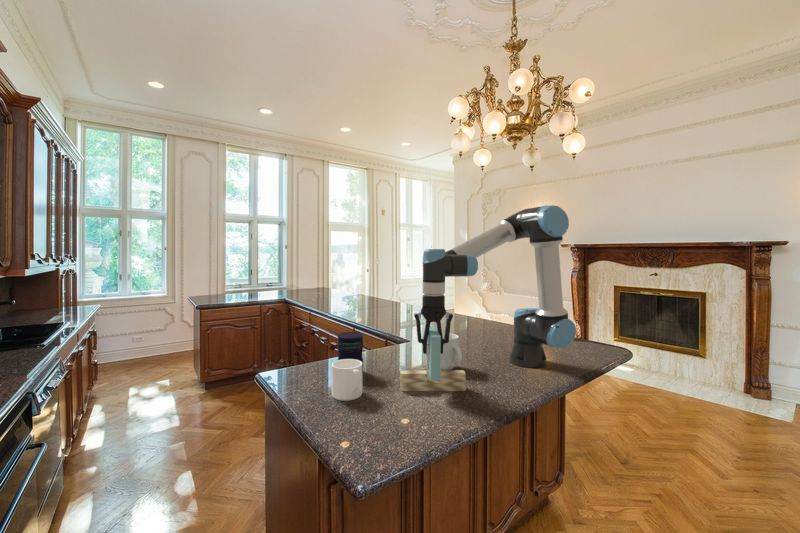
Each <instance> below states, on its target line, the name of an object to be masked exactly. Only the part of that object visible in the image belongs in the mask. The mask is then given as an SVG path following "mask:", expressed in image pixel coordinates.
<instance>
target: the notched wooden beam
mask: <svg viewBox="0 0 800 533" xmlns="http://www.w3.org/2000/svg"><path fill="white" fill-rule="evenodd" d="M466 378H467V374H466V372H465V370H464V369H463V370H461V369H460V370H457V369H456V370H453V369H451V370H440V380H431V379H430V378H428V372H427V370H400V380H399V382H400V392H466V391H467V390H466V384H467V383H466V381H467V380H466Z"/></svg>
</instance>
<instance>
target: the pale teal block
mask: <svg viewBox="0 0 800 533" xmlns="http://www.w3.org/2000/svg"><path fill="white" fill-rule="evenodd" d="M427 343H428V344H429V364H426V363H425V365H426V368H427V370H428V375H429V379H431V380H440V371H441V370H440V358H441V336H440V334H439V333H438V331H437V326H436V325H430V328H429V334H428V340H427Z"/></svg>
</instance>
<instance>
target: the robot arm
mask: <svg viewBox="0 0 800 533" xmlns="http://www.w3.org/2000/svg"><path fill="white" fill-rule="evenodd" d="M569 226H570V220H569V217H568V214H567V212H566V211H565V210H563V208H562V207H561V206H559V205H553V204H549V205H548V204H547V205H542V206H536V207H535V206H534V207H531V208H530V207H529V208H524V209H522V210H520V211H517V212H516V213H514V214H512V215H510V216H508V217H506V218H504V219H502V220H501V221H499V223H498V225H496V226H494V227H492V228H490V229H488V230H486V231H484V232H482V233H480V234H478V235H477V236H474V237H473V238H471V239H469V240H467V241H465V242H463V243H461V244H459V245H457V246H455V247H452V248H451V249H449V250H447V251H446V250H445V249H444V248H443V249H442V248H426V249H424V250H423V252H422V253H423V254H422V294H423V295H422V300H421V301H422V305H421V306H422V307H421V309H420V311H419V312H415V313H414V314H413V316H414V319H415V321H416V323H415V324H416V325H415V326H416V334H417V338H416V339H417V342H418V344H422V354H423V355H425V365H426V364H429V344H428V343H427V340H428V334H429V328H430V326H431V323H433V322H434V323H436V329H437V331H438V333H439V334H440V336H441V354H443V345H444V344H445V343H448V342H449V334H450V333H451V323H452V320H453V318H454V315H453V313H451V312H448V311H447V310H446V306H445V305H446V303H445V302H446V296H445V293H446V277H447V278H448V277H455V278H456V277H458V278H459V277H466V278H468V277H473V276H475V275H476V274H477V272H478V269H479V261H478V259H477V258H479V257H481V256H483V255H484V254H485V255H486V253H488V252H490V251H492V250H494V249H496V248H498V247H500V246H502V245H504V244H506V243H512V242H515V241H517V240H519V239H527V238H529V244H530V245H531V246H532V247H533V248H534V260H535V273H536V284H537V285H536V286H537V299H538V308H537V307H534V308H533V307H532V308H531V307H528V308H516V309H515V311H514V314H513V315H514V316H513V344H512V346H511V349H510V352H509V355H508V362H510V363H511V364H513V365H516V366H519V367H524V368H534V369H535V368H542V367H543V368H544V367H545V366H547V364H548V363H547V362H548V359H547V355H546V353H545V348H544V345H546V346H548V347H550V348H555V349H561V350H562V349H565V348H566V347H567V348H568V346H570V345H571V344H572V342H573V341H574V340H575V337H576V334H577V327H576V323H575V322H573V321H572V319H569V312H568V310H567V309H566V308H565V307H564V300H563V289H562V276H561V275H562V274H561V260H560V247H559V246H560V245H561V243H562V242H563V240H564V239H563V238H564V237H563V236H564V235H565V234H566V233H567V230H569ZM444 316H445V319H446V320H445V327H444V333H445V336H444V339H443V336H442V333H443V332H442V331H443V330H442V323H441V320H442V319H443V318H444ZM422 317H423V318H424V319H425V325H424V326H425V327H424V332H423V336H422V328H421V319H422Z"/></svg>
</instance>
